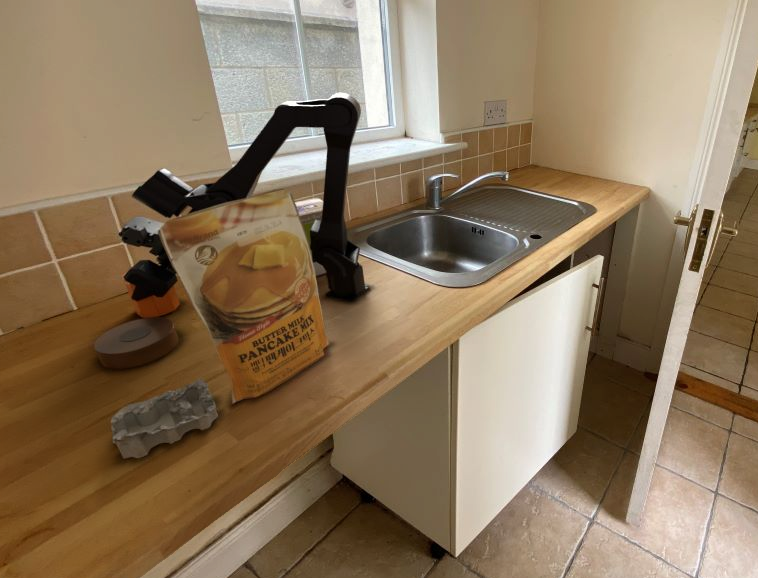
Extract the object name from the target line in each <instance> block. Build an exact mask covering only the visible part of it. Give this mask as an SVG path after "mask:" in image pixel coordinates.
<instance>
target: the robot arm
mask: <svg viewBox="0 0 758 578" xmlns="http://www.w3.org/2000/svg"><path fill="white" fill-rule="evenodd" d="M361 114H362V108H361V105H360V102H358V100H357V99H356V98H355V97H354V96H352V95H351V94H349V93H346V92H337V93H335V94H333V95H332V96H330V97H329V98H324V99H313V100H312V99H311V100H303V101H290V100H289V101H285V102H282V103H281V104H278V105H277V107H276V108H275V109H274V111H273V114H272V116H271V117H270V118H269V119H268V121H267V123H266V124H265V125H264V126H263V128H262V129H261V130H260V132H259V133H258V134H257V136H256V137H255V139H253V141H252V143H251V144H250V145H249V147H248V148H247V149H246V151H244V153H243V154H242V156H241V157H240V159H239V160H238V162H237V163H235V165H234V166H233V167H231V168H230V169H229V170H228V171H227V172H225V173H224V174H222V176H220V178H218V179H217V180H216V181H214V182H210V183H202V184H199V185H197V186H196V187H192V186H191V185H189V184H187V183H186V182H184V181H183V180H181V179H180V178H179V177H177V176H176V175H174V174H173V173H172V172H171V171H169V170H168V169H166V168H165V167H161V168H160V169H158V170H156V171H155V173H154V174H153V175H152V176H150V177H149V178H148V179H147V180H146V181H144V182H143V183H141V184H140V185H139V186H138V187H137V188H136V189H135V190H134V192H133V193H132V194H131V198H132V199H134V200H136V201H138V202H139V203H141V204H143V205H144V206H146V207H147V208H149V209H151V210H153V211H155V212H156V213H158V214H159V215H161V216H163V218H166V219H167V218H168V219H171V218H172V217H173V216H174V217H175V218H177V217H180V216H182V214H183V213H184V212H185V211H186V210H187V209H188V208H189V207H190V210H189V211H188V212H187V214H189V213H192V212H196V211H199V210H203V209H206V208H209V207H213V206H216V205H219V204H223V203H226V202H231V201H235V200H240V199H245V198H249V197H252V196H254V195H253V194H254V192H255V190H256V188H257V186H258V183H259V180H260V178H261V176H262V174H263V171H264V170H265V168H266V167H267V166H268V165H269V163H270V162H271V161H272V159H273V158H275V155H276V154H278V151H279V150H280V149H281V147H283V145H284V143H285V142H286V141H287V140H288V138H289V137H290V136H291V134H292V133H293V132H294V131H295V129H296V128H313V129H320V128H321V129H323V134H324V138H325V143H326V158H325V171H324V183H323V184H324V185H323V199H322V201H323V210H322V220H321V221H318V220H315V221H314V223H313V225H312V228H311V230H310V239H311V244H310V246H309V247H310V250H312V257H313V259H314V260H315V261H316V262H317V263H318V264H320V265H322V266H323V267H324V269H325V270H326V273H325V276H326V281H327V286H328V290H329V291H327V292H326V293H325V294H324V295H325V297H326V298H330V299H333V300H339V301H344V302H348V303H349V302H350V303H353V302H355V301H356V300H357V299H358V298H359V297H361V296H362V295H363V294H365V293H366V292H367V291H369V289H371V285H370V284H367V283H365V275H364V268H363V267H364V266H363V264H360V262H359V257H360V251H361V247H360V246H358V245H357V244H355V243H354V242H353V241H351V240H349V238H348V229H347V224H346V219H345V210H346V209H345V208H346V198H347V188H348V179H349V178H348V177H349V167H350V156H351V147H352V144H353V141H354V138H355V135H356V131H357V128H358V125H359V122H360V118H361ZM164 224H165V222H161V221H158V220H155V219H151V218H148V217H144V216H138V215H137V216H133V217H132V218H131V219H129V220H128V221H126V222H125V223H124V224H123V227H122V230H121V231H119V232H118V236H119V237H120V241H121V242H122V243H123V244H126V245H129V246H133V247H136V248H140V247H144V248H147V249H148V248H149V249H150V250H149V251H148V253H149V254H150V255H153V256H154V257H156V258H155V259H154V260H155V261H156V262H158V263H156V262H154V261H152V260H150V259H140V260H139V261H137V262H136V263H135V264H134V265H133V266H132V267H130V268H129V269H128V270H127V271H128V272H127V271H126V272H127V273H126V272H125V273H126V274H125V273H124V274H125V275H124V274H123V275H124V276H123V275H122V276H123V278H124V280H125V281H127V282H129V283H131V284H133V285H135V289H134V291H133V294H132V296H131V298H130V300H131V299H133V300H135V301H140V300H142V299H145V298H148V297H150V296H153V295H154V296H156V297H163V296H164V295H165V294H166V293H167V292H168V291H169V290H170V289H171V288H172V287H173V286H174V287H175V285H176V283H178V281H179V279H178V277H177V272H176V271H175V269H174V268H173V267H172V265H171V262H170V260H169V258H168V255H167V253H166V251H165V249H164V246H163V244H162V242H161V239H160V236H159V234H158V232H157V231H158V230H159V229H160V228H161V227H162V226H163V225H164ZM158 264H161V265H158ZM167 268H168V270H167ZM123 278H122V279H123ZM124 280H123V281H124Z"/></svg>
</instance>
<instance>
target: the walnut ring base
mask: <svg viewBox="0 0 758 578" xmlns="http://www.w3.org/2000/svg"><path fill="white" fill-rule="evenodd" d="M179 340H180V339H179V335H178V333H177V330H176V327H175V325H174V322H173V321H172V320H171V319H170V318H166V317H161V316H159V317H149V318H139V319H135V320H130V321H128V322H125V323H122V324H119V325H117V326H115V327H112V328H111V329H109V330H107V331H105V332H104V333H103V334H101V335H100V336H99V337H98V338H97V339H96V340H95V342H94V345H93V348H94V351H95V352H96V355H97V357H98V359H99V361H100V363H101V364H102V366H103V367H105V368H107V369H112V370H125V369H132V368H136V367H140V366H144V365H147V364H150V363H152V362H154V361H156V360H157V361H158V360H159V359H161V358H163V357H165V356H166V355H168V354H169V353H170V352H172V351H173V350H174V349H175V348H176V347H177V345H178V343H179Z"/></svg>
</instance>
